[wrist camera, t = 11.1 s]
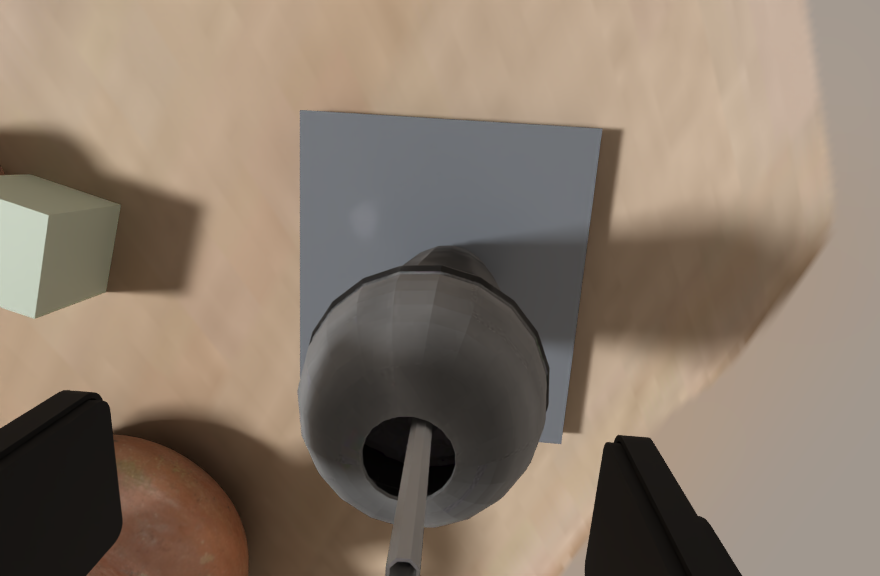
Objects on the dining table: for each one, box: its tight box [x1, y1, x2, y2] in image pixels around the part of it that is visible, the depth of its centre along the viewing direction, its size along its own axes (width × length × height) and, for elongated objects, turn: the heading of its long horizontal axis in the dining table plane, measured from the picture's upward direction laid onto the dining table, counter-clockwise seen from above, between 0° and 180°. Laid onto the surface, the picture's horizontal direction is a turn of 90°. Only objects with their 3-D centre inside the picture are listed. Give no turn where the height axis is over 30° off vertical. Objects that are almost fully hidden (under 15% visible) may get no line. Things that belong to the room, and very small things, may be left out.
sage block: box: [0, 174, 121, 319], centre depth 27 cm, size 5×5×5 cm
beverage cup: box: [298, 246, 550, 576], centre depth 17 cm, size 7×7×20 cm
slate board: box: [300, 110, 602, 444], centre depth 28 cm, size 16×14×1 cm
